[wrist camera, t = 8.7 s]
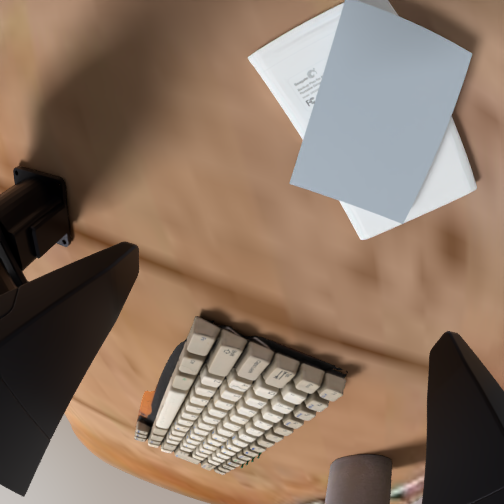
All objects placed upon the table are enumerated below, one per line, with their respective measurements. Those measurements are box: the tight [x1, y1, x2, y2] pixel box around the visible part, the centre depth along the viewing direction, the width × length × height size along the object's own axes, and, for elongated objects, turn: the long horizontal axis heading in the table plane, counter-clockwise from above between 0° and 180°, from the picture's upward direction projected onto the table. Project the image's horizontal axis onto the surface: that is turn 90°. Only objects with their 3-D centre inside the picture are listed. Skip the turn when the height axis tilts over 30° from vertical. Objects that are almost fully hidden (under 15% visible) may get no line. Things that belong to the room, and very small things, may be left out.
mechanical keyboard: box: [135, 316, 348, 475], centre depth 37 cm, size 38×19×3 cm, turn 159°
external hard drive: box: [248, 0, 477, 240], centre depth 15 cm, size 2×8×12 cm
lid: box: [290, 0, 472, 224], centre depth 14 cm, size 7×10×1 cm, turn 167°
